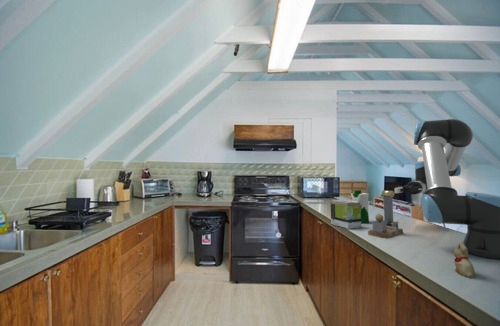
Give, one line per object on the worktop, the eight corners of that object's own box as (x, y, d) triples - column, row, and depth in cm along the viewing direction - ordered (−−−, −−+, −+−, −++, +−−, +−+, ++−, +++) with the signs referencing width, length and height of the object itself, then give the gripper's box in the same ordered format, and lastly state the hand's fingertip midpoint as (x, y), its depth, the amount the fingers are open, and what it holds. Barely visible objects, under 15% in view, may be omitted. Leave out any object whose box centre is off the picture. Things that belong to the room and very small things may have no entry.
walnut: (384, 222, 129) (384, 215, 129) (376, 222, 130) (376, 214, 130) (382, 220, 133) (381, 213, 133) (374, 220, 133) (374, 213, 134)
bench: (385, 229, 143) (385, 218, 143) (402, 232, 136) (402, 221, 136) (368, 234, 133) (367, 222, 133) (385, 238, 126) (385, 225, 126)
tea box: (362, 227, 149) (361, 201, 150) (348, 229, 146) (347, 202, 146) (343, 222, 163) (342, 198, 164) (330, 224, 160) (329, 200, 160)
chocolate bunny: (477, 271, 85) (475, 240, 85) (474, 279, 79) (473, 246, 80) (455, 267, 89) (454, 237, 89) (451, 274, 83) (450, 242, 84)
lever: (385, 221, 139) (384, 190, 140) (395, 223, 135) (394, 190, 136) (382, 222, 138) (381, 190, 138) (392, 224, 134) (391, 191, 134)
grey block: (377, 230, 134) (376, 220, 135) (386, 231, 130) (386, 221, 130) (372, 231, 132) (372, 221, 132) (382, 233, 128) (382, 222, 128)
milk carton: (350, 221, 165) (349, 190, 165) (359, 220, 169) (358, 189, 170) (362, 224, 157) (361, 191, 158) (371, 222, 162) (370, 190, 162)
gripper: (428, 194, 150) (408, 198, 137) (404, 193, 161) (384, 196, 147) (427, 181, 150) (408, 184, 137) (403, 180, 161) (383, 183, 147)
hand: (395, 190), depth 142 cm, fingers closed
